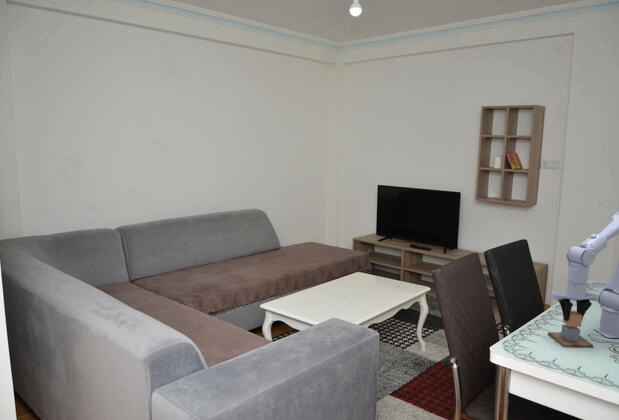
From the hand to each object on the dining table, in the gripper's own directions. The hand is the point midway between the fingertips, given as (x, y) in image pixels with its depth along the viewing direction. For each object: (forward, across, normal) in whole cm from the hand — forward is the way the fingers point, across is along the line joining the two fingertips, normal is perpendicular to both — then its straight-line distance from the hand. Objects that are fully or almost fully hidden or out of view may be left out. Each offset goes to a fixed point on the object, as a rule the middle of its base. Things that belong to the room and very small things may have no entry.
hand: (572, 320), depth 160 cm
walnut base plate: (+8, 0, 0) cm, 8 cm away
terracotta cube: (+2, 0, 0) cm, 2 cm away
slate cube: (+7, 0, 0) cm, 7 cm away
